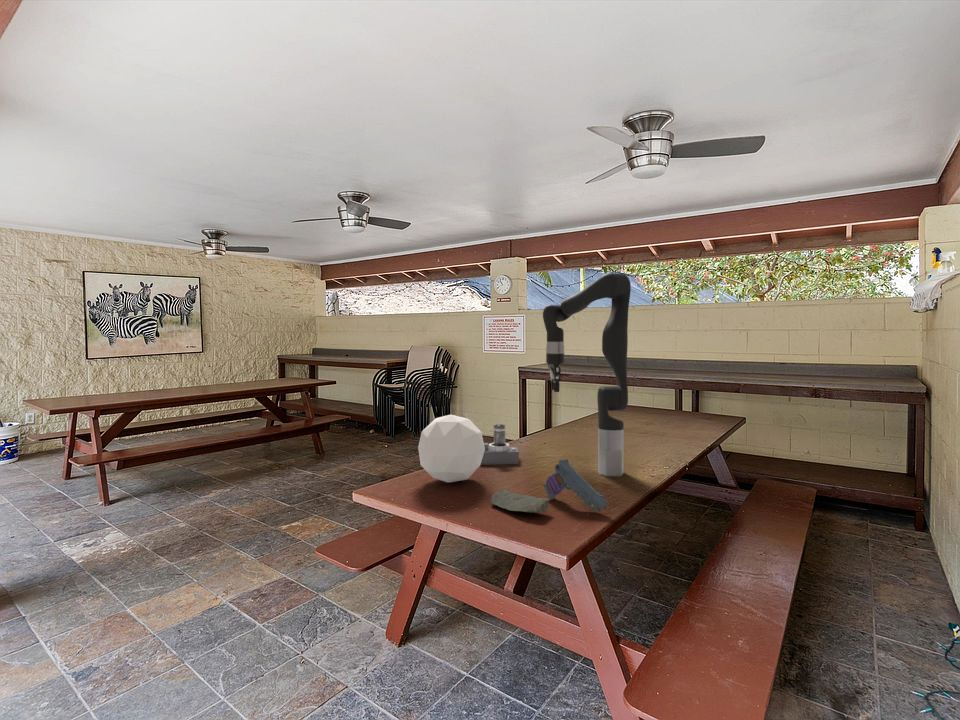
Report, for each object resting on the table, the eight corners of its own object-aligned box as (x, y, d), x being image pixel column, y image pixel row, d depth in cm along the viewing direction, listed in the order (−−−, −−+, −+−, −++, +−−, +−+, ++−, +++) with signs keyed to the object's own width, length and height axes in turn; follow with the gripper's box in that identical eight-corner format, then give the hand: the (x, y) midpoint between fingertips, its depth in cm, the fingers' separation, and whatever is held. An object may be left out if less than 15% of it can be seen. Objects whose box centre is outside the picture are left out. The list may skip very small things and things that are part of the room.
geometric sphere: (453, 469, 199) (452, 407, 198) (498, 482, 181) (498, 414, 180) (404, 482, 182) (403, 414, 181) (449, 497, 165) (448, 422, 163)
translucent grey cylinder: (507, 448, 209) (507, 424, 208) (502, 451, 205) (501, 426, 204) (496, 447, 211) (496, 423, 211) (491, 449, 207) (490, 425, 207)
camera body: (518, 466, 203) (518, 446, 203) (479, 466, 204) (479, 446, 203) (517, 460, 214) (517, 440, 214) (480, 460, 214) (480, 441, 214)
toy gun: (545, 486, 166) (564, 453, 160) (590, 534, 154) (612, 500, 147) (539, 488, 164) (558, 454, 158) (583, 537, 151) (605, 502, 145)
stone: (481, 501, 158) (501, 487, 165) (484, 512, 158) (504, 497, 165) (534, 511, 143) (553, 494, 150) (537, 522, 143) (556, 505, 150)
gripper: (566, 352, 202) (566, 392, 203) (561, 352, 216) (561, 389, 217) (548, 353, 202) (548, 392, 203) (544, 352, 216) (544, 389, 217)
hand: (555, 390), depth 210 cm, fingers open, 8 cm apart
